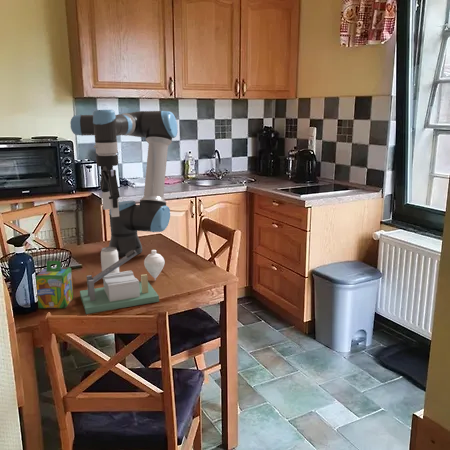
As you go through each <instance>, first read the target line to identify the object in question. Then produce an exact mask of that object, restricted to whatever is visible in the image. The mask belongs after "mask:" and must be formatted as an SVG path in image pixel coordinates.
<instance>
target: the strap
mask: <svg viewBox="0 0 450 450" xmlns="http://www.w3.org/2000/svg"><path fill="white" fill-rule="evenodd" d="M125 255H126V256H125V257H121V258H120V259H119V261H117V262H116V263H114V264H113V265H111V266H110V267H108V268H107V269H105V270H104V271H102V270H101V271H100V272H99V273H97V274H96V275H94V276H93V277H92V278H91V279H89V280H94V284H95V283H97V282H98V281H100V280H102V279H103V277H104V276H106V275H107V274H109V273H110V272H112V271H113V270H115V269H116V268H118V267H119V268H120V267H121V266H122V265H124V264H125V263H127V262H129V261H130V260H131V259H132V258H134V257H135V256H137V255H138V254H137V252H136V251H135V250H134V251H133V250H131V251H130V252H128V253H126V254H125Z"/></svg>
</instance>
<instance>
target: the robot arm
mask: <svg viewBox="0 0 450 450" xmlns="http://www.w3.org/2000/svg"><path fill="white" fill-rule="evenodd" d="M69 123H70V130H71V132H72V133H73V134H74V135H76V136H81V137H83V136H94V143H95V145H93V148H94V149H95V154H97V155H96V156H95V158H96V159H95V160H96V161H95V162H96V166H98V167H100V190H101V194H102V206H103V207H102V208H103V210H105V211H106V210H109V214H108V215H109V224H110V240H109V244H108V247H116V248H117V251H118V258H123V257H125V256H126V255H125V254H126V253H128V252H130V251H131V250H133V251H134V250H135V251H136V252H137V255H140V254H141V253H142V252H143V245H142V243H141V241H140V238H139V236H138V232H147V233H148V232H150V233H160V232H161V233H162V232H164V231H165V230H166V229H167V228H168V226H169V223H170V220H171V208H170V207H169V206H168V205H167V201H166V200H165V198H164V194H165V183H166V174H167V173H166V170H167V160H168V151H169V150H168V149H169V146H170V145H171V144H172V142H173V139H174V138H176V137H177V135H178V124H177V123H178V122H177V119H176V117H175V115H174V113H173V112H172V111H169V110H148V111H147V110H141V111H139V110H138V111H133V112H127V113H126V112H124V113H121V114H116V112H115V111H114V110H113V109H95V110H93V112H92V114H77V115H73V116H72V117H71V119H70V122H69ZM118 136H125V137H126V136H128V137H130V136H131V137H137V138H145V141H146V142H147V143H148V144H147V145H148V146H147V147H148V148H147V149H148V150H147V157H146V158H147V159H146V169H145V179H144V180H145V181H144V192H143V197H141V199H140V200H139V204H137V202H136V201H135V200H133V199H132V200H131V199H130V200H124V201H123V200H122V201H119V198H120V196H121V195H120V190H119V184H118V179H117V170H116V169H114V167H115V166H118V165H119V155H118V141H117V140H118V138H117V137H118Z"/></svg>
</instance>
